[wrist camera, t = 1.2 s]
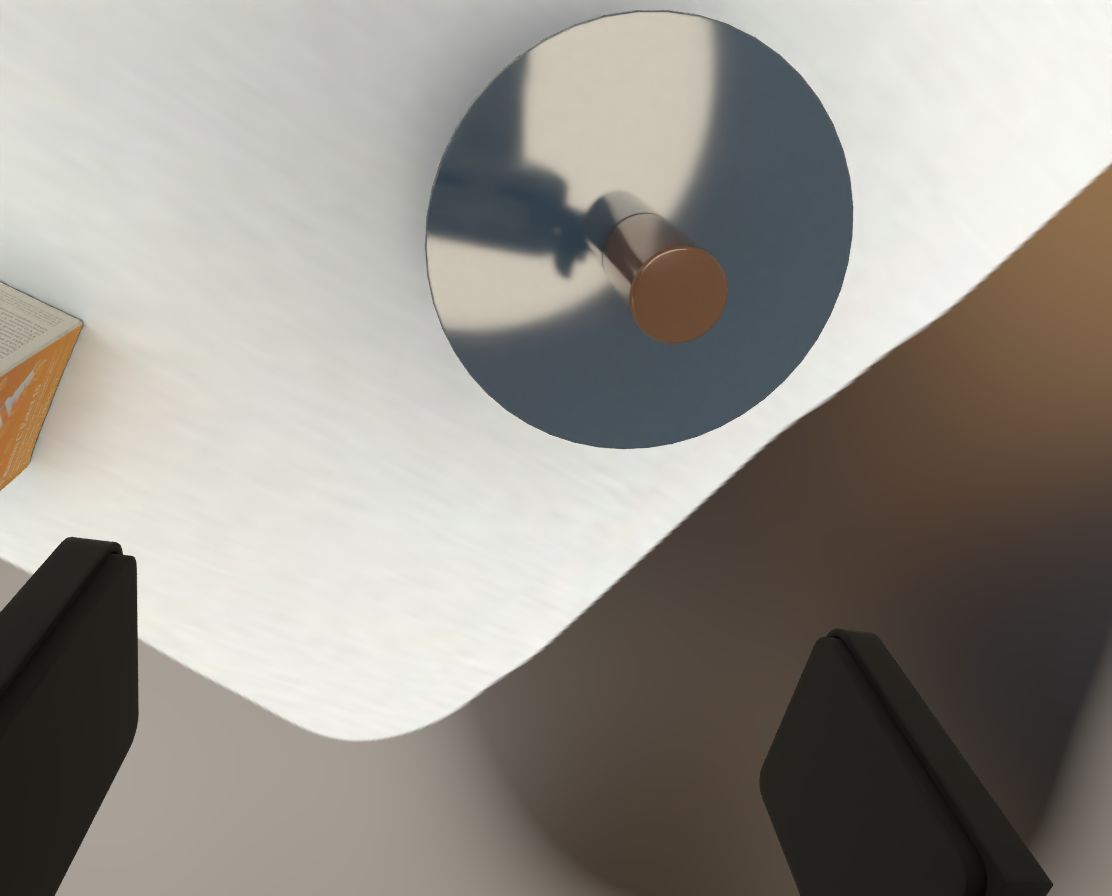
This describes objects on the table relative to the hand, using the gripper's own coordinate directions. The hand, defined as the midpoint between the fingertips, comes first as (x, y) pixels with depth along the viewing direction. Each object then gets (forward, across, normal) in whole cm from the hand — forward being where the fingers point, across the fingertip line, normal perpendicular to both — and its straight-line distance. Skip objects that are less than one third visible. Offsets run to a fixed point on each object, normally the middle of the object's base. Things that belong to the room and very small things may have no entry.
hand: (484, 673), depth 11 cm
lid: (+17, -5, -3) cm, 18 cm away
